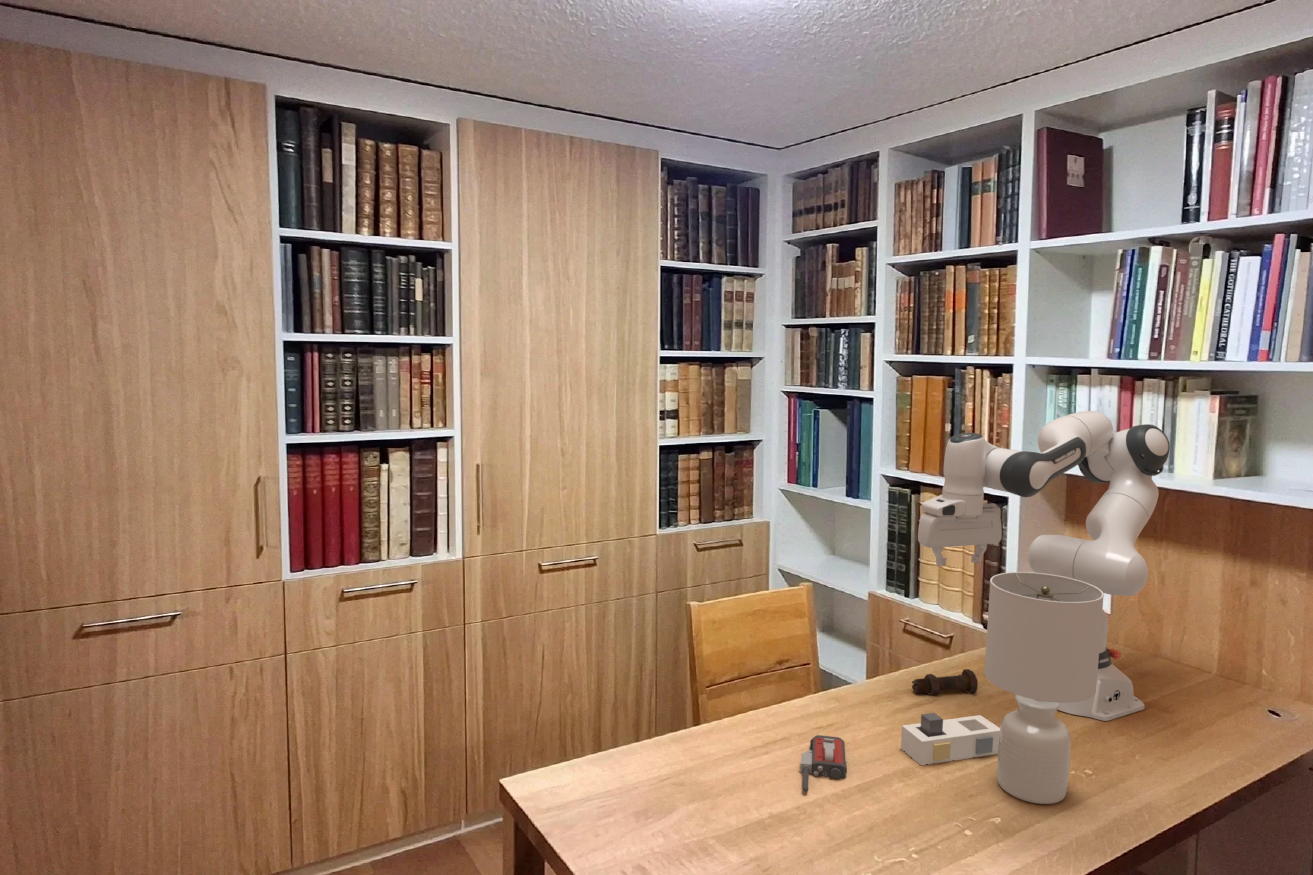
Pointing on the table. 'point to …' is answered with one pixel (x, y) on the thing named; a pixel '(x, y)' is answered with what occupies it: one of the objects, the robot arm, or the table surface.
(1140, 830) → the table surface
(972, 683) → the bolt
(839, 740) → the walkie-talkie
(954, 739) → the white socket block
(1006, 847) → the table surface
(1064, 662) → the lamp
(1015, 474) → the robot arm
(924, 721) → the plug
